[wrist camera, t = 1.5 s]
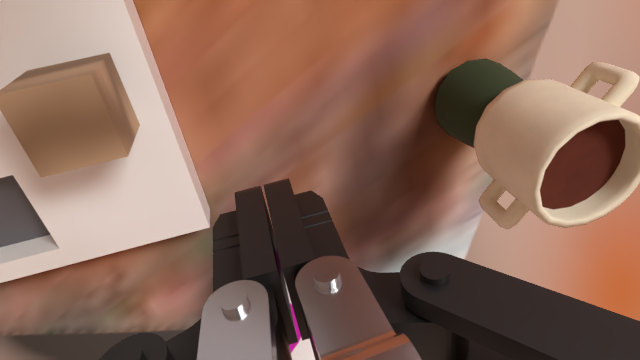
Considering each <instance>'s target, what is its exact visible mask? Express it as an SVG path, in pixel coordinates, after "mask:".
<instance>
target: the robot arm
mask: <svg viewBox="0 0 640 360" xmlns="http://www.w3.org/2000/svg"><path fill="white" fill-rule="evenodd" d="M264 189H265V194H266V198H267V203H268V207H269V212H270V217H271V221H272V224H271V221H270V217H269V213H268V210H267V206H266V203H265V199H264V196H263V192H262V189H261V186H258V187H254V188H250V189H246V190H242V191H238V192H235V201H236V211H232V212H228V213H224V214H221V215H220V216H219V218H218V219H217V221H216V223H215V225H214V226H213V253H214V254H213V294H212V295H211V296H210V297H209V298H208V300H207V301H206V303H205V305H204V307H203V311H202V318H201V319H200V320H199V321H198V322H197V323H196V324H194V325H193V326H192V327H190V328H189V329H187V330H185V331H184V332H182V333H180V334H178V335H177V336H175V337H173V338H171V339H170V340H168V341H166V342H165V341H164V340H163V338H161V337H160V336H158V335H156V334H153V333H139V334H136V335H132V336H130V337H127V338H125V339H123V340H121V341H120V342H118V343H117V344H115V345H114V346H113V347H111V348H110V349H109V350H108V351H107V352H106V353H105V354H104V355H103V356H102V357H101V358H100V359H99V360H292V357H291V352H290V347H289V345H290V344H293V343H297V342H298V339H297V334H296V329H295V325H294V320H293V316H292V311H291V306H290V302H289V297H288V293H287V289H288V292H289V296H290V299H291V303H292V306H293V310H294V313H295V317H296V320H297V324H298V327H299V331H300V334H301V338H302V341H303V340H306V339H309V338H310V342H311V346H312V349H313V353H314V357H315V360H640V321H637V320H634V319H632V318H629V317H626V316H623V315H620V314H617V313H615V312H611V311H609V310H606V309H603V308H600V307H597V306H595V305H592V304H589V303H586V302H583V301H580V300H577V299H574V298H572V297H569V296H566V295H563V294H560V293H557V292H555V291H552V290H549V289H546V288H543V287H541V286H538V285H535V284H532V283H529V282H526V281H523V280H521V279H518V278H515V277H512V276H509V275H506V274H504V273H501V272H498V271H495V270H492V269H489V268H486V267H484V266H481V265H478V264H475V263H472V262H469V261H467V260H464V259H461V258H458V257H455V256H452V255H449V254H446V253H441V252H426V253H421V254H418V255H415V256H413V257H411V258H410V259H409V260H407V261H406V262H405V263H404V265H403V266H402V268H401V271H400V272H395V273H376V272H370V271H366V270H364V269H361V268H359V267H358V266H356V264H354V263H353V262H352V261H351V260H350V259H349V257H348V256H347V253H346V251H345V249H344V246H343V244H342V242H341V239H340V237H339V235H338V232H337V230H336V228H335V225H334V223H333V221H332V219H331V216H330V214H329V212H328V209H327V207H326V205H325V202H324V200H323V198H322V197H320V196H319V195H317V194H316V193H314V192H313V191H308V192H304V193H300V194H296V195H294V193H293V190H292V187H291V184H290V181H289V178H288V179H284V180H280V181H277V182H273V183H269V184H265V185H264ZM272 226H273V228H272ZM284 278H285V279H284ZM285 282H286V283H285ZM286 285H287V288H286Z"/></svg>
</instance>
